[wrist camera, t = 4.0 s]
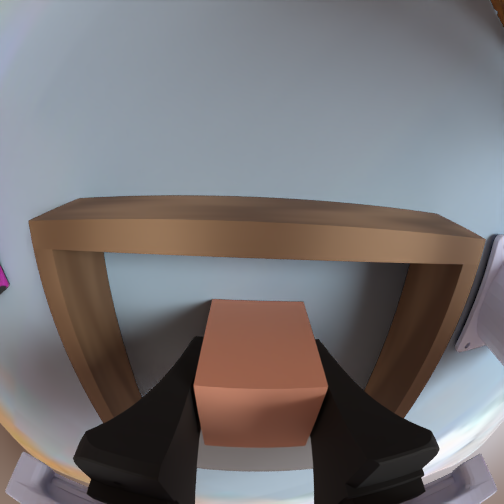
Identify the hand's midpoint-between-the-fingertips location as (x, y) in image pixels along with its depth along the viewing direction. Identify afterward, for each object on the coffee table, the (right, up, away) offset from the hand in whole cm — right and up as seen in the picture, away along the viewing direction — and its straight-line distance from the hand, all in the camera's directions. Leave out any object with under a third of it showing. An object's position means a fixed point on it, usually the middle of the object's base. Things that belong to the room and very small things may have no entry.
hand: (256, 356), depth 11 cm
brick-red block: (0, +1, +1) cm, 1 cm away
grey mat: (0, -11, +6) cm, 12 cm away
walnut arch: (0, +1, +1) cm, 1 cm away
